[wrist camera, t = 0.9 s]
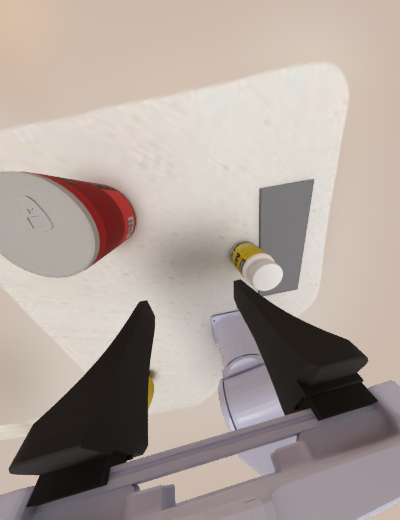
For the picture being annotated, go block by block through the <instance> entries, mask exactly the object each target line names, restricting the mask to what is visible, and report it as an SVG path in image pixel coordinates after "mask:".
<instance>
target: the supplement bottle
mask: <svg viewBox="0 0 400 520" xmlns="http://www.w3.org/2000/svg"><path fill="white" fill-rule="evenodd" d="M230 258H231V261H232V262H233V264H234V265H235V266H236V268H237V269H238V270H239V272H240V273H241V275H242V276H243V277H244V279H245V280H246V281H248V282H249V283H251V284H252V285H253V286H254V287H255V288H256V289H258V290H260V291H268V290H271V289H273V288H274V287H276V286H277V285H278V284H279V283H280V282H281V280H282V277H283V271H282V269H281V267H280V266H279V265H277V264H276V263H275V262H274V259H273V258H272V257H271V256H270V255H269V254H267V253H266V252H264V251H263V250H261V249H260V248H258V247H257V246H255V245H254V244H252V243H251V242H248V241H243V242H240V243H238V244H236V245H235V246H234V247H233V248H232V250H231V253H230Z"/></svg>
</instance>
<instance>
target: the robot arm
mask: <svg viewBox="0 0 400 520" xmlns="http://www.w3.org/2000/svg"><path fill="white" fill-rule="evenodd" d="M234 300H235V302H236V305H237V307H238V310H239V311H236V312H231V313H226V314H221V315H216V316H212V317H211V319H212V325H213V331H214V336H215V342H216V346H219V348H220V352H221V356H222V361H223V365H224V369H223V370H222V373H223V377H224V378H221V379H220V382H219V386H218V393H219V400H220V405H221V409H222V413H223V416H224V419H225V422H226V424H227V427H228V429H229V431H230V432H228V433H225V434H222V435H218V436H215V437H211V438H208V439H205V440H201V441H198V442H194V443H191V444H187V445H184V446H181V447H177V448H174V449H171V450H167V451H164V452H160V453H157V454H154V455H151V456H147V457H143V458H140V459H137V460H133V461H130V462H126V461H127V460H131V459H133V457H136V456H140V455H143V453H144V452H145V450H146V448H147V446H148V386H149V367H150V358H151V351H152V344H153V337H154V330H155V315H154V313H153V311H152V309H151V307H150V305H149V303H148V301H147V300H146V301H141V302H139V303H138V305H137V306H136V308H135V309H134V311H133V313H132V314H131V316H130V317H129V319H128V320H127V322H126V323H125V325H124V327H123V328H122V329H121V331H120V332H119V334H118V335H117V336H116V338H115V339H114V341H113V342H112V343H111V345H110V346H109V347H108V349H107V350H106V351H105V352H104V353H103V355H102V356H101V357H100V358H99V359H98V361H97V362H96V363H95V364H94V365H93V366H92V367H91V368H90V369H89V371H88V372H87V373H86V374H85V375H84V376H83V377H82V378H81V379H80V380H79V381H78V382H77V383H76V384H75V385H74V386H73V387H72V388H71V389H70V391H68V392H67V394H65V395H64V396H63V397H62V398H61V399H60V400H59V401H58V402H57V403H56V404H55V405H54V406H53V407H52V408H51V409H50V410H49V411H47V412H46V413H45V414H44V415H43V416H42V417H41V418H40V419H39V420H38V421H37V422H35V423H34V424H33V426H32V428H31V429H30V431H29V433H28V435H27V437H26V439H25V440H24V442H23V444H22V446H21V447H20V449H19V451H18V453H17V455H16V457H15V458H14V460H13V462H12V464H11V465H10V467H9V472H10V473H11V474H18V475H40V476H39V479H38V481H37V483H36V485H35V486H32V487H27V488H23V489H19V490H16V491H12V492H9V493H6V494H3V495H0V520H366V519H368V518H370V517H371V516H373V515H375V514H377V513H379V512H381V511H383V510H385V509H387V508H389V507H390V506H392V505H394V504H396V503H398V502H400V386H399V385H398V384H397V383H395V382H394V381H388V382H385V383H381V384H378V385H374V386H371V387H369V388H366V387H365V386H364V385H363V384H362V382H363V379H362V378H361V377H360V375H359V374H358V373H357V372H358V371H359V370H360V369H361V368H362V367H364V366H365V365H366V364H367V362H368V358H367V357H366V356H365V355H364V354H363V353H362V352H361V351H360V350H359V349H358V348H357V347H356V346H354V345H353V344H352V343H351V342H350V341H349V340H347V339H344V338H342V337H339V336H337V335H334V334H332V333H329V332H326V331H324V330H322V329H319V328H317V327H315V326H313V325H311V324H308V323H306V322H304V321H302V320H300V319H298V318H296V317H294V316H292V315H291V314H289V313H287V312H285V311H284V310H282V309H280V308H279V307H277V306H275V305H274V304H272V303H271V302H269V301H268V300H267V299H265V298H264V297H262V296H261V295H260V294H258V293H257V292H256V291H254V290H253V289H252V288H251V287H249V286H248V285H247V284H246V283H245V282H243V281H242V280H236V281H234ZM235 454H238V455H239V457H240V459H241V460H243V461H244V462H245V463H246V464H248V465H249V466H250V467H252V468H253V469H254V470H256V471H257V472H258V473H259V474H261V475H262V476H261V477H258V478H254V479H251V480H248V481H245V482H242V483H239V484H236V485H233V486H230V487H226V488H223V489H220V490H217V491H214V492H211V493H208V494H205V495H202V496H198V497H195V498H192V499H189V500H186V501H183V502H180V503H177V504H176V503H175V487H174V485H173V484H172V485H167V486H161V485H160V486H156V487H153V488H149V489H145V490H142V491H140V488H139V486H138V485H137V484H140V483H144V482H147V481H150V480H153V479H157V478H160V477H163V476H166V475H170V474H173V473H176V472H179V471H182V470H186V469H189V468H192V467H196V466H199V465H202V464H206V463H209V462H212V461H215V460H219V459H222V458H225V457H228V456H232V455H235Z"/></svg>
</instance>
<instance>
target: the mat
mask: <svg viewBox="0 0 400 520" xmlns="http://www.w3.org/2000/svg"><path fill="white" fill-rule="evenodd" d="M313 184H314V179H312V180H306V181H301V182H295V183H290V184H284V185H278V186H273V187H267V188H262V189H260V204H259V248H260V249H261V250H263V251H264V252H266V253H267V254H269V255H270V256H271V257H272V258H273V259H274V262H275V263H276V264H277V265H279V266H280V267H281V269H282V271H283V277H282V280H281V282H280V283H279V284H278V285H277V286H276V287H274V288H273V289H271V290H268V291H260V290H258V294H260V295H261V296H266V295H271V294H276V293H281V292H286V291H291V290H296V289H298V282H299V276H300V269H301V263H302V256H303V250H304V243H305V236H306V230H307V223H308V217H309V210H310V204H311V197H312V191H313Z"/></svg>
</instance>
